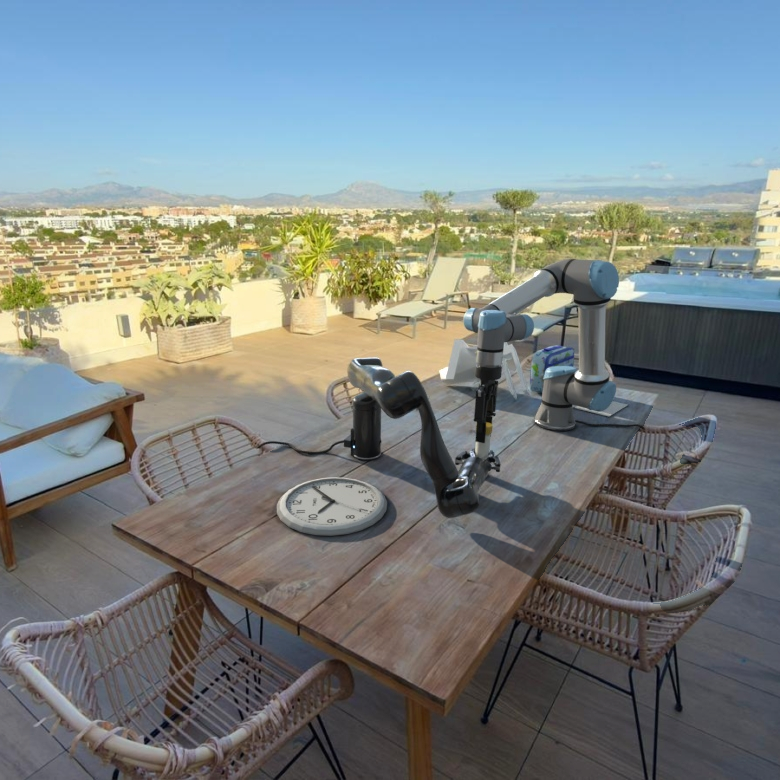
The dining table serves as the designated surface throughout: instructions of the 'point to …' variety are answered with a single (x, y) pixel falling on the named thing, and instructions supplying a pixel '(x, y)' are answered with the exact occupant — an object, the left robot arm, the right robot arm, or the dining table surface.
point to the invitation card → (609, 411)
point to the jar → (483, 447)
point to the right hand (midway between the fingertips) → (483, 438)
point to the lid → (488, 428)
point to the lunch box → (548, 363)
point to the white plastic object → (465, 364)
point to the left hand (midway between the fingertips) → (483, 451)
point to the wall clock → (331, 506)
